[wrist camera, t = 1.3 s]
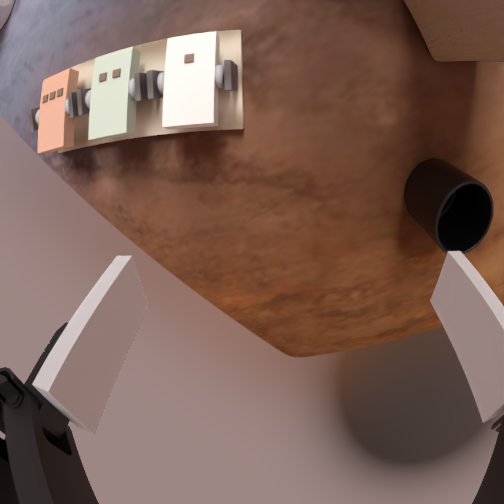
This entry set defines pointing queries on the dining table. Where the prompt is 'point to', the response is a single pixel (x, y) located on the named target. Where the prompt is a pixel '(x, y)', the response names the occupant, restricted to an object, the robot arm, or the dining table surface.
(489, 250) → the dining table surface
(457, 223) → the mug
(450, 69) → the dining table surface
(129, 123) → the key two
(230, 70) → the pastel toggle block board
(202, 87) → the key one
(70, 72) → the key three
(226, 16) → the dining table surface
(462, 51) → the wooden block
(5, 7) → the mug
